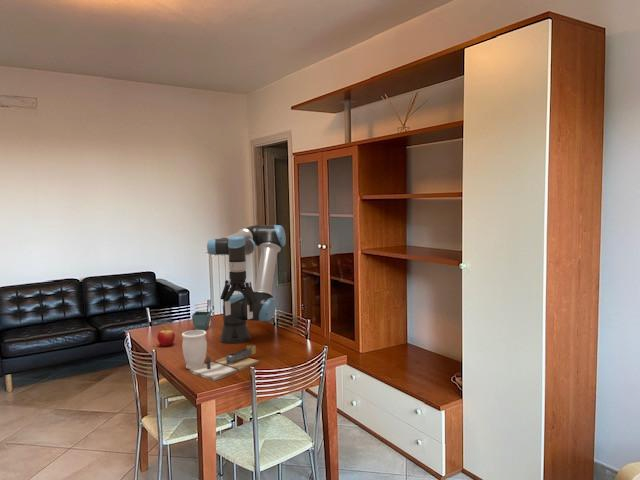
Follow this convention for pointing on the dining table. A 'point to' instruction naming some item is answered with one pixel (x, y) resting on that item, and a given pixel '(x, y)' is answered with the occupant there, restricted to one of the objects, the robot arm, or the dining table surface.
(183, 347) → the jar
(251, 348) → the latch bar
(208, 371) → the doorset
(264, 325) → the dining table surface
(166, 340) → the apple
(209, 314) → the flower pot
